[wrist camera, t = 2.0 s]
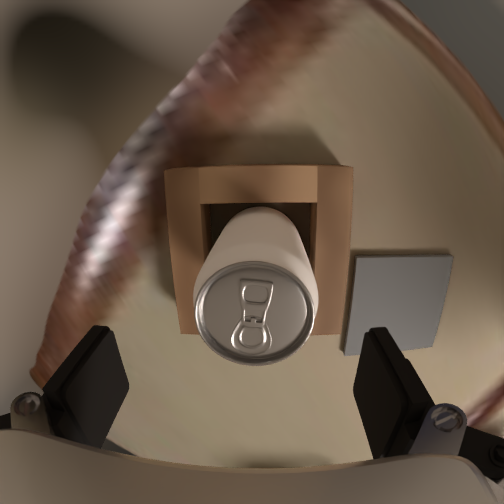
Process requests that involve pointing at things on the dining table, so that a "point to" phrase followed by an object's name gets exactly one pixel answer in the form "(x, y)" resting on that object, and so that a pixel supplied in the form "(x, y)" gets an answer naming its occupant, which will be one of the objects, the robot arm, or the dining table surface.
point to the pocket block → (260, 191)
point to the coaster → (397, 298)
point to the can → (256, 290)
